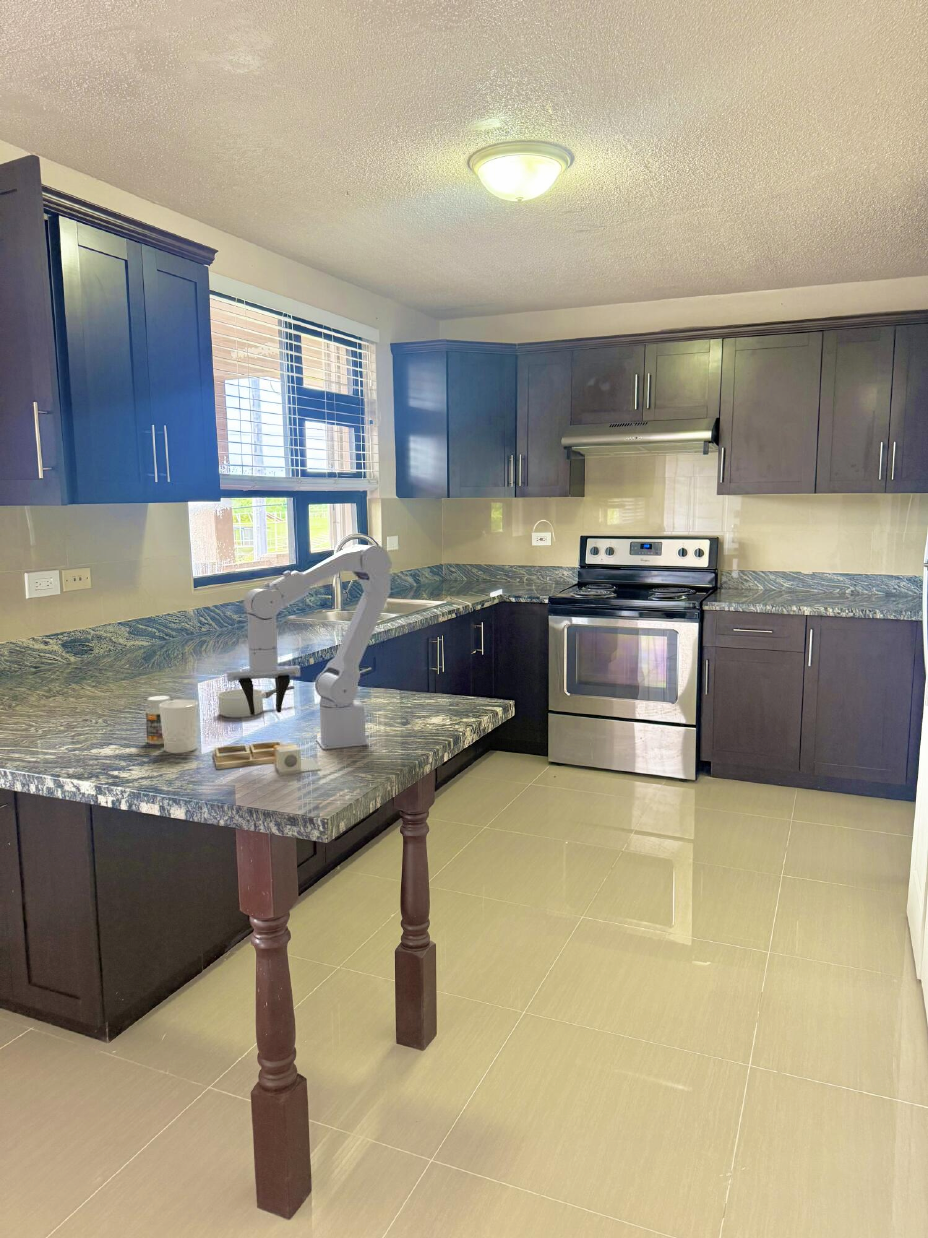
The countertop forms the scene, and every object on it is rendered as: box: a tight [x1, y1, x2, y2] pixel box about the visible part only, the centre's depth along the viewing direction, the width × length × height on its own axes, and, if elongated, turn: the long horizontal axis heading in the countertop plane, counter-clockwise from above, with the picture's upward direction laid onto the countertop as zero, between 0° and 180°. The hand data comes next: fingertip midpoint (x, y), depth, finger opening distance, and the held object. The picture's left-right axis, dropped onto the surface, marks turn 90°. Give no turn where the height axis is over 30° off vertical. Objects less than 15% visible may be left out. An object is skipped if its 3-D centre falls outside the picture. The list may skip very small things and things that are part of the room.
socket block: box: [212, 740, 283, 770], centre depth 173 cm, size 14×10×2 cm
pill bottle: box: [145, 695, 171, 745], centre depth 186 cm, size 6×6×10 cm
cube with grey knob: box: [274, 743, 302, 772], centre depth 166 cm, size 4×4×5 cm
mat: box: [273, 757, 322, 776], centre depth 167 cm, size 8×8×1 cm
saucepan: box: [216, 685, 295, 718], centre depth 214 cm, size 12×20×6 cm, turn 125°
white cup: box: [159, 699, 199, 754], centre depth 180 cm, size 8×8×10 cm
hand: (265, 712), depth 174 cm, fingers open, 5 cm apart
